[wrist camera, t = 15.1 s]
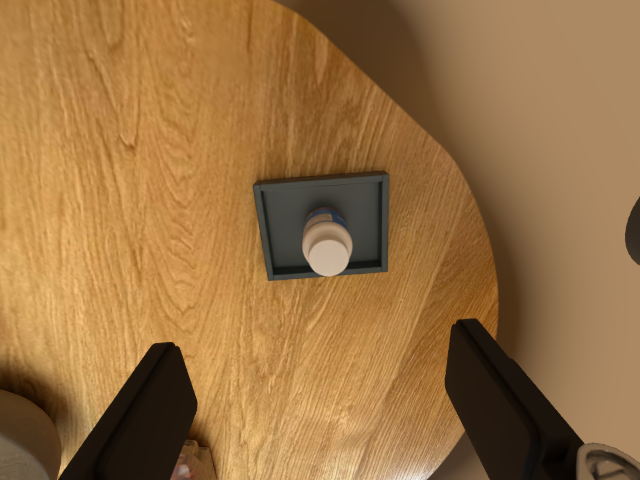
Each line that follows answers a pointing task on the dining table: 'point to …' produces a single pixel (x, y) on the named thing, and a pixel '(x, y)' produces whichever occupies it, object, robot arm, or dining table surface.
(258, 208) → the tray
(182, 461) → the brown toy tank
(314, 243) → the pill bottle
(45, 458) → the bowl
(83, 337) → the dining table surface
